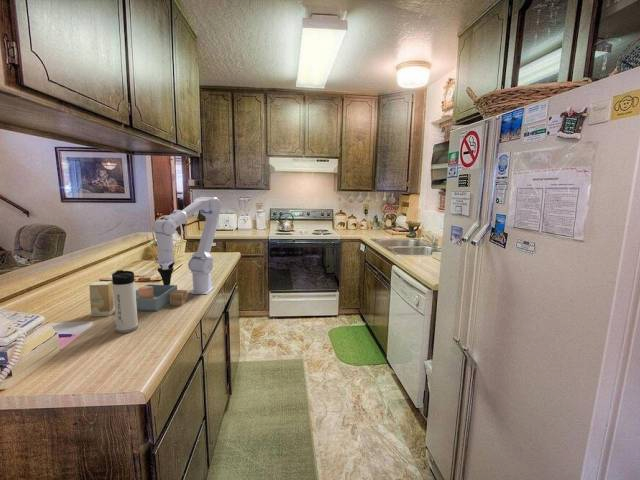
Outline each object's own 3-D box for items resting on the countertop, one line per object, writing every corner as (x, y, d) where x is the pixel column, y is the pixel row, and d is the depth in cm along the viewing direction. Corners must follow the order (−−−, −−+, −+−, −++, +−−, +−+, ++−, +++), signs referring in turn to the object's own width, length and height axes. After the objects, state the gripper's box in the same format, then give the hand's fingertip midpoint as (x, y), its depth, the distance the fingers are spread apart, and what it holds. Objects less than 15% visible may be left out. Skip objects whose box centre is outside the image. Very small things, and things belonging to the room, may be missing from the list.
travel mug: (133, 323, 109) (129, 268, 105) (141, 328, 104) (137, 272, 101) (113, 328, 104) (108, 272, 100) (120, 335, 100) (115, 276, 96)
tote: (148, 294, 136) (147, 284, 135) (177, 295, 136) (177, 285, 135) (123, 310, 119) (122, 298, 118) (156, 311, 119) (156, 299, 118)
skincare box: (90, 317, 112) (87, 285, 110) (96, 312, 116) (93, 281, 114) (111, 315, 114) (108, 284, 112) (115, 311, 118) (112, 280, 116)
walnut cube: (175, 301, 130) (175, 289, 129) (187, 301, 130) (187, 290, 129) (170, 305, 125) (169, 293, 124) (182, 305, 125) (181, 294, 124)
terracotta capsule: (136, 306, 122) (135, 289, 120) (145, 301, 126) (144, 285, 125) (147, 307, 121) (147, 290, 120) (156, 302, 126) (155, 286, 124)
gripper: (155, 246, 127) (157, 277, 130) (152, 254, 114) (154, 288, 117) (174, 245, 130) (176, 276, 132) (173, 253, 117) (175, 286, 119)
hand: (167, 282), depth 125 cm, fingers open, 7 cm apart
